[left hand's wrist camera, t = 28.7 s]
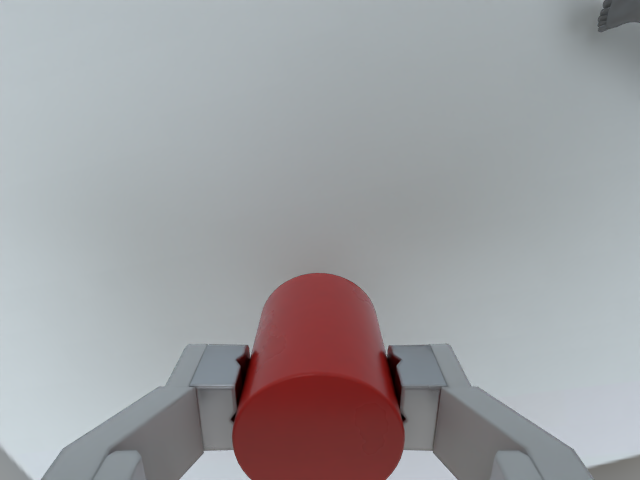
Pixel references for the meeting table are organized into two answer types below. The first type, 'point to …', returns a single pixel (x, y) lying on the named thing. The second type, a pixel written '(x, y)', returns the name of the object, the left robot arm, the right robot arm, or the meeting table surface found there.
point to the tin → (318, 388)
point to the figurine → (618, 13)
